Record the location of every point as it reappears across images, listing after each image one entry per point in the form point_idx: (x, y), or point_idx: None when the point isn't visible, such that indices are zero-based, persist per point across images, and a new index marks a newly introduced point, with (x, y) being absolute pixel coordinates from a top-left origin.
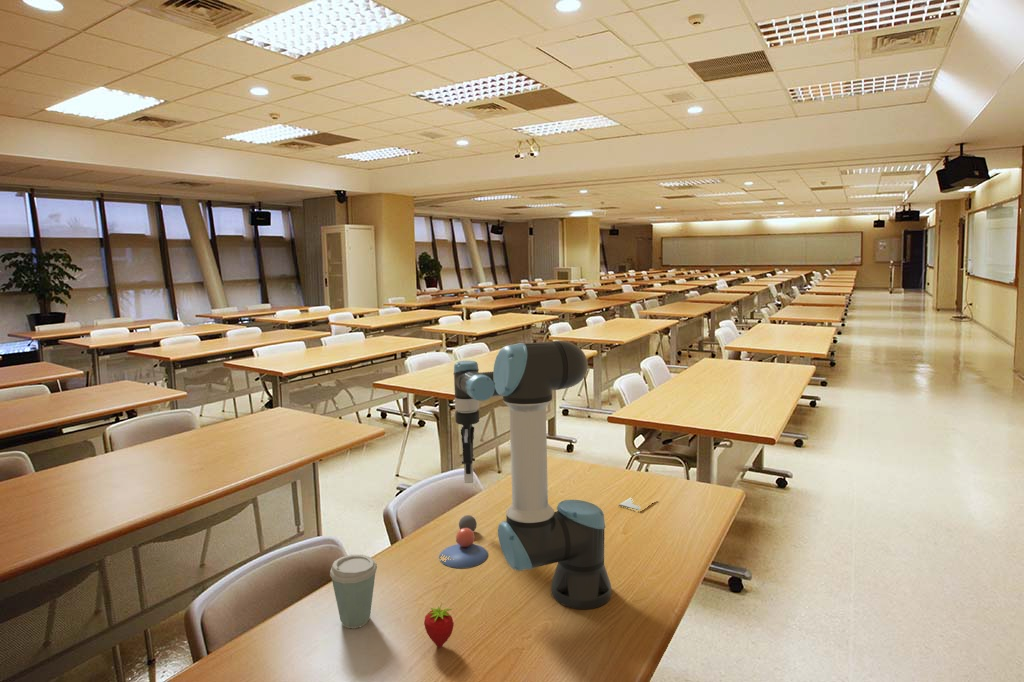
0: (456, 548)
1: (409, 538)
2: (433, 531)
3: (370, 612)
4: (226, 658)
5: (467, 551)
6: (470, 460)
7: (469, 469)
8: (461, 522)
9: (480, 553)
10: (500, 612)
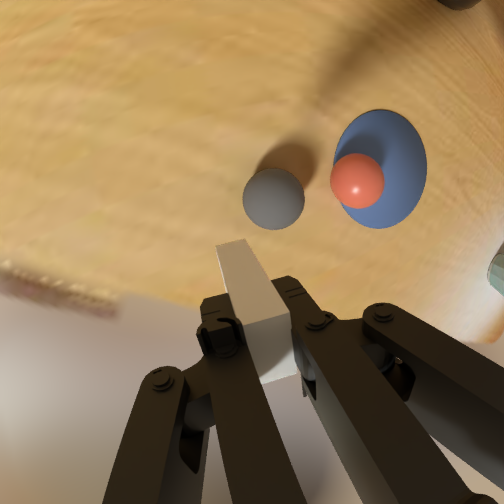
0: None
1: None
2: None
3: (500, 257)
4: (497, 332)
5: None
6: (415, 323)
7: (308, 298)
8: (297, 217)
9: (376, 129)
10: (493, 89)
